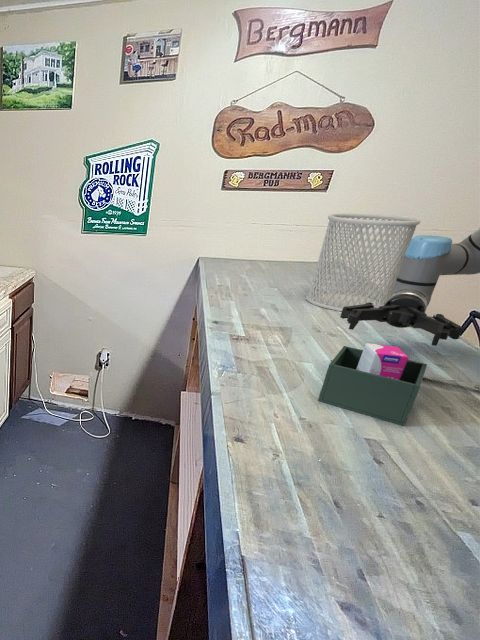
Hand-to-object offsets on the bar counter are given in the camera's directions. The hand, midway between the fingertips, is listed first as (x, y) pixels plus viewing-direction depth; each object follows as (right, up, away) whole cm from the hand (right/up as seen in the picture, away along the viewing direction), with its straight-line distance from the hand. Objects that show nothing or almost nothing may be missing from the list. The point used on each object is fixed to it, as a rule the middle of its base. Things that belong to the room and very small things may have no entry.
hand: (392, 330), depth 94 cm
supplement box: (-2, -14, +3) cm, 15 cm away
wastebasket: (+44, +14, +70) cm, 84 cm away
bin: (-3, -15, +4) cm, 15 cm away
